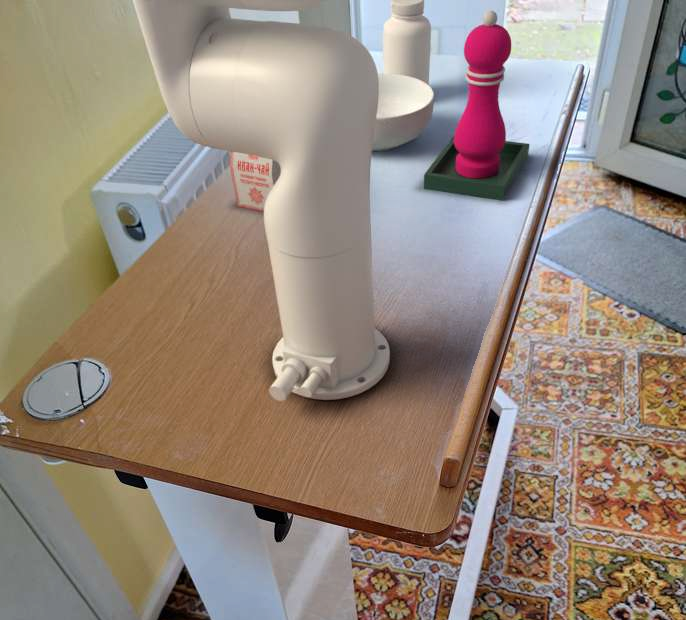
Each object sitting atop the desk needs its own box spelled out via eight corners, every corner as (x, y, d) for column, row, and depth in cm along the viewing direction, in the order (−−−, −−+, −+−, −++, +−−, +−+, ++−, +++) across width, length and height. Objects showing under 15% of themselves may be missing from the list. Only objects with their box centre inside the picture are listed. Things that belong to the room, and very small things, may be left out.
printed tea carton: (251, 194, 99) (239, 124, 91) (290, 202, 96) (281, 130, 89) (237, 205, 97) (224, 135, 89) (277, 214, 94) (267, 142, 87)
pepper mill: (500, 181, 95) (519, 19, 80) (449, 180, 96) (458, 20, 81) (503, 158, 100) (521, 1, 85) (454, 157, 101) (463, 2, 86)
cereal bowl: (313, 160, 105) (309, 113, 99) (343, 116, 115) (341, 71, 110) (420, 168, 101) (421, 119, 95) (441, 122, 111) (443, 75, 106)
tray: (502, 200, 93) (504, 186, 91) (423, 188, 96) (424, 174, 95) (527, 157, 101) (529, 143, 99) (453, 148, 104) (454, 134, 103)
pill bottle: (430, 106, 116) (433, 4, 104) (383, 109, 116) (382, 8, 105) (427, 88, 121) (430, -10, 110) (382, 91, 121) (381, -7, 110)
